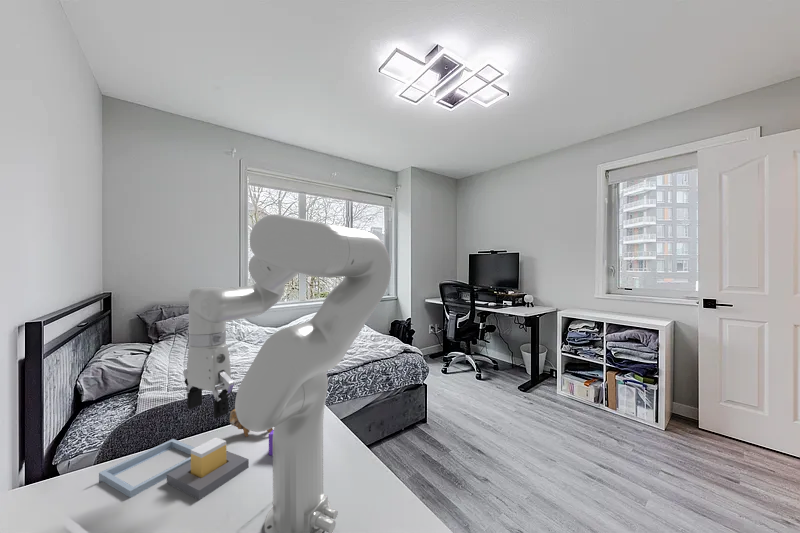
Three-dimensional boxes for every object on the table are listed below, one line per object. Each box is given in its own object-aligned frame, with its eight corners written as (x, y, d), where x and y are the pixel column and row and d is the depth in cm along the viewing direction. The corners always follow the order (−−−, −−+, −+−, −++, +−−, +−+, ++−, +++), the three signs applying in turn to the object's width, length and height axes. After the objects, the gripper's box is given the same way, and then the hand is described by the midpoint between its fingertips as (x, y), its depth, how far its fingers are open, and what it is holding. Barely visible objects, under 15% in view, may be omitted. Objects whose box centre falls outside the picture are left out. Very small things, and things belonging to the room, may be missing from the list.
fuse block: (248, 471, 78) (248, 459, 78) (199, 504, 67) (199, 490, 67) (217, 458, 83) (217, 447, 83) (166, 487, 72) (166, 474, 72)
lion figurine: (226, 445, 89) (226, 413, 89) (232, 435, 95) (232, 405, 95) (281, 439, 92) (281, 408, 92) (284, 430, 97) (284, 400, 97)
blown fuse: (226, 469, 77) (226, 441, 77) (201, 485, 72) (201, 454, 72) (215, 465, 79) (215, 437, 79) (190, 480, 73) (190, 449, 73)
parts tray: (204, 460, 82) (204, 451, 82) (130, 502, 68) (130, 491, 68) (173, 447, 88) (173, 438, 88) (99, 482, 74) (98, 472, 74)
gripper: (246, 340, 75) (246, 412, 75) (200, 332, 82) (200, 398, 82) (216, 347, 68) (215, 427, 68) (169, 338, 75) (169, 409, 76)
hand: (207, 411), depth 75 cm, fingers open, 9 cm apart
